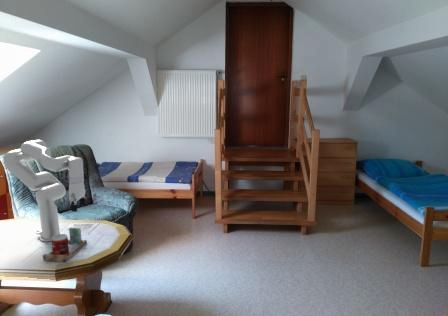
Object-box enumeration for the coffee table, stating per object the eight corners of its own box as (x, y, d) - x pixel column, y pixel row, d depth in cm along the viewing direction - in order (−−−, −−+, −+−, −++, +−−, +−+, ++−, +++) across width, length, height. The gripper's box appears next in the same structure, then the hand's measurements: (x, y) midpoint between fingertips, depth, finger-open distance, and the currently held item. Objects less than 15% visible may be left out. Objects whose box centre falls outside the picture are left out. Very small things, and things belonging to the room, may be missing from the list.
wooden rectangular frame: (43, 260, 184) (41, 244, 182) (67, 241, 206) (65, 227, 204) (65, 261, 182) (63, 245, 180) (86, 242, 204) (85, 228, 203)
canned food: (56, 252, 193) (54, 234, 190) (71, 252, 193) (69, 233, 191) (50, 259, 185) (48, 240, 183) (66, 259, 186) (64, 239, 183)
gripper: (77, 175, 205) (79, 202, 209) (61, 183, 189) (64, 213, 192) (90, 175, 205) (91, 203, 209) (75, 184, 188) (77, 214, 192)
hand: (78, 208), depth 200 cm, fingers open, 9 cm apart
